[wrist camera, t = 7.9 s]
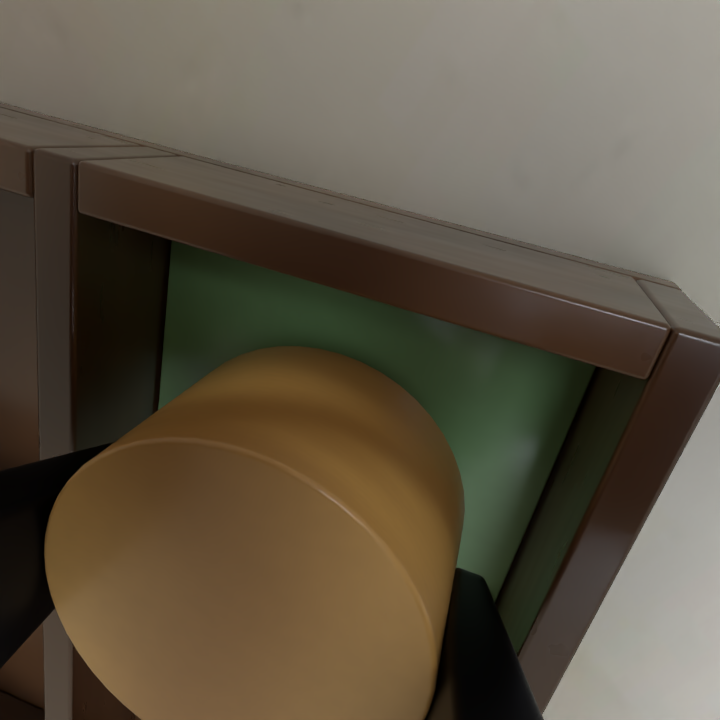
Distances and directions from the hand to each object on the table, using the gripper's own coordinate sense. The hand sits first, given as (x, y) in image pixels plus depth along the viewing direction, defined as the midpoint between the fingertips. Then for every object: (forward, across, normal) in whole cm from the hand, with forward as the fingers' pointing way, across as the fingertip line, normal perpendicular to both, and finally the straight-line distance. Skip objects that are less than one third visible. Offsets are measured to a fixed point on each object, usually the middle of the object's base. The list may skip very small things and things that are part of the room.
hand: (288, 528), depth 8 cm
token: (+1, 0, 0) cm, 1 cm away
